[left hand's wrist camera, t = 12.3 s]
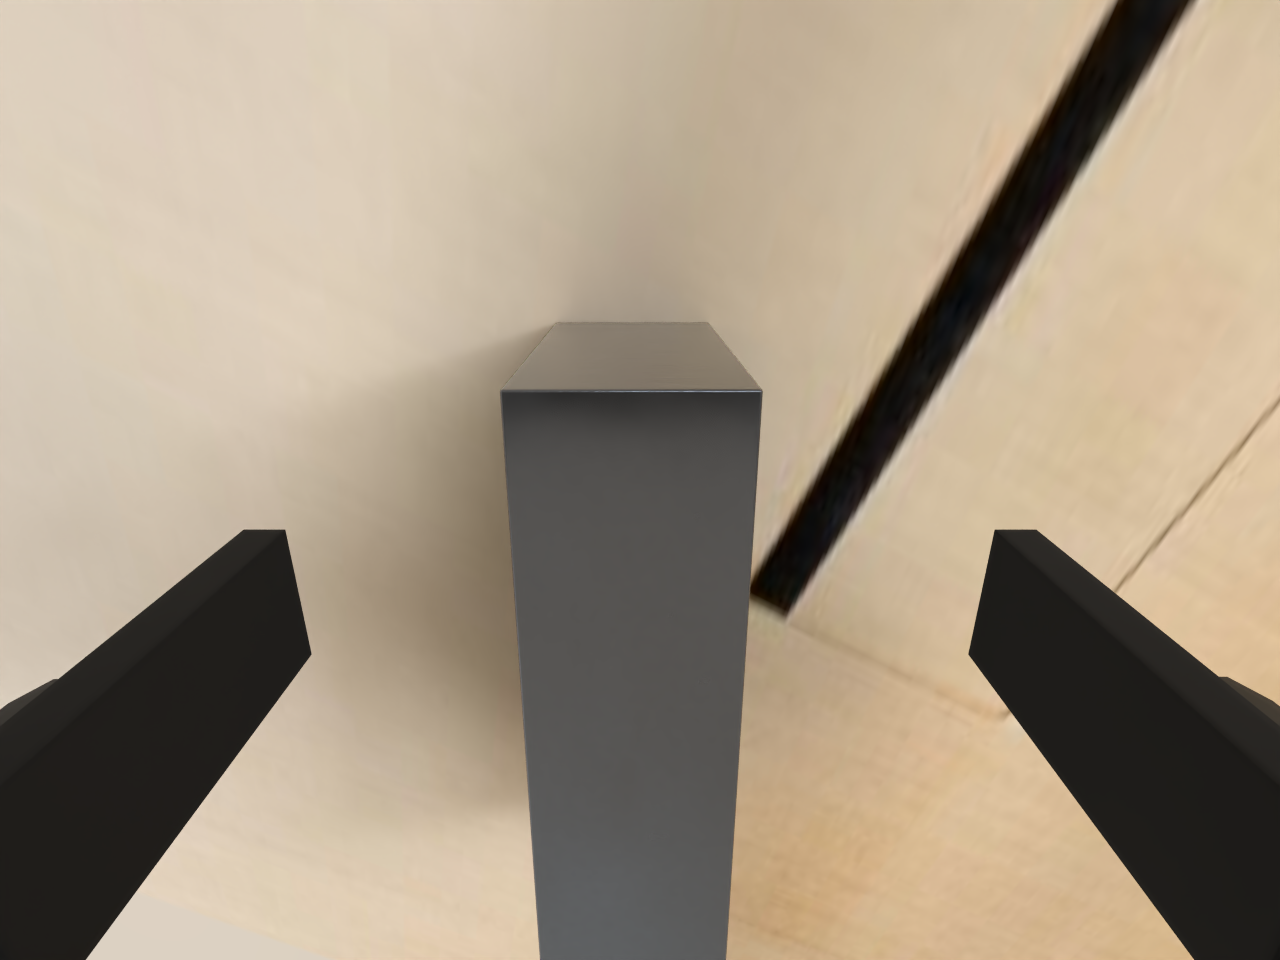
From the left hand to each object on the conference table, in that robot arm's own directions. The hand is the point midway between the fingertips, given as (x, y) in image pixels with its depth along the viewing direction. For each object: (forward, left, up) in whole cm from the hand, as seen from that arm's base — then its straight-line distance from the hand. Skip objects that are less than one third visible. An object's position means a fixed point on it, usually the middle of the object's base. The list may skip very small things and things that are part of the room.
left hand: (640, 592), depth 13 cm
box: (+7, -4, -17) cm, 18 cm away
